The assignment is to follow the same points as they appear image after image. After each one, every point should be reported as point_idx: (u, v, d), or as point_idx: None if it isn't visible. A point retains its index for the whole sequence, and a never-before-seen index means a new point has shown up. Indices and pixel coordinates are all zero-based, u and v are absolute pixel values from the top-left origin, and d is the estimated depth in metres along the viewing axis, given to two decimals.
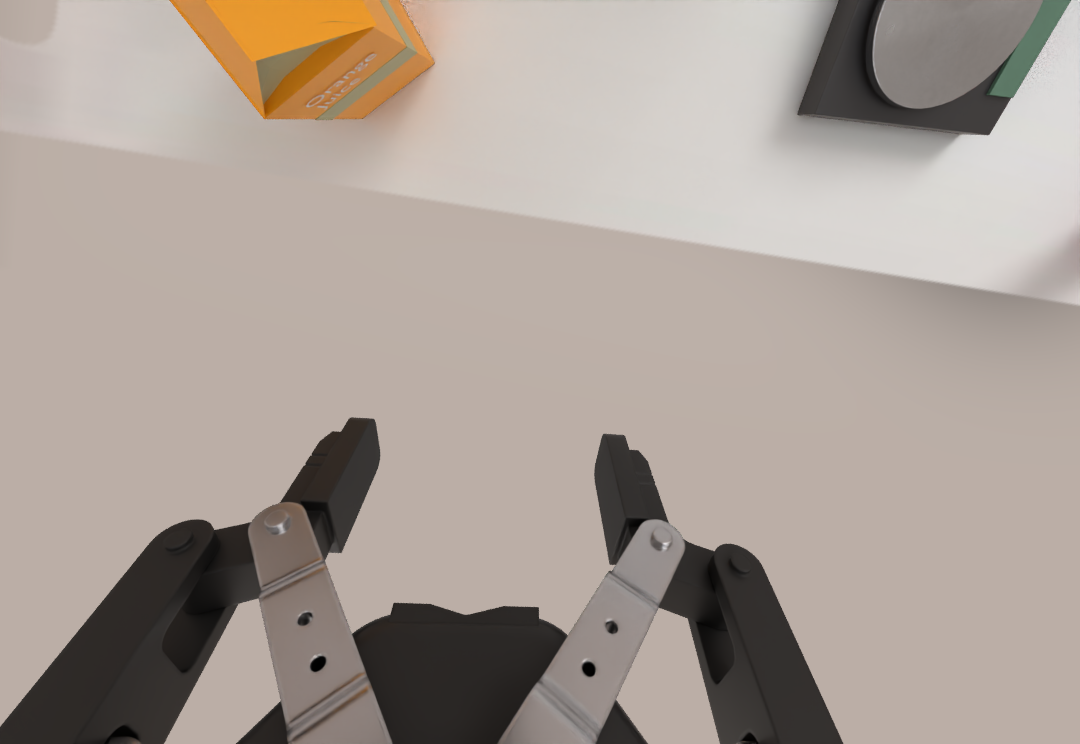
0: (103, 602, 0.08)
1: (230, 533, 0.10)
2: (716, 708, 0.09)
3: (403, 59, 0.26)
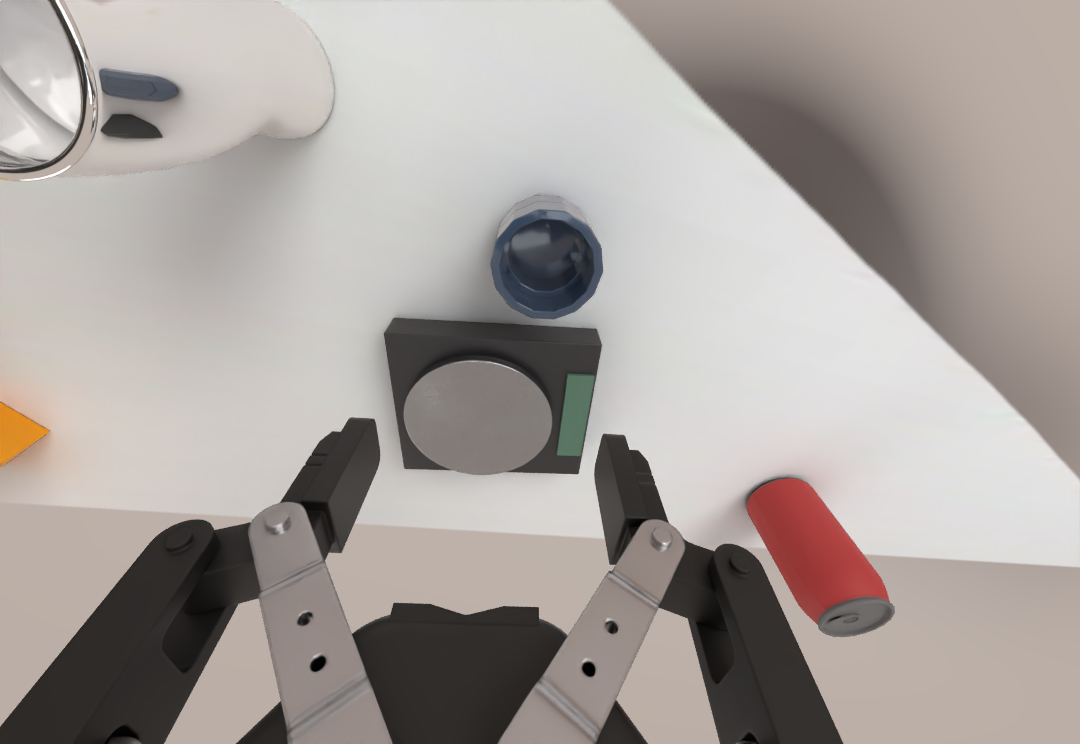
0: (103, 602, 0.08)
1: (230, 533, 0.10)
2: (716, 708, 0.09)
3: None
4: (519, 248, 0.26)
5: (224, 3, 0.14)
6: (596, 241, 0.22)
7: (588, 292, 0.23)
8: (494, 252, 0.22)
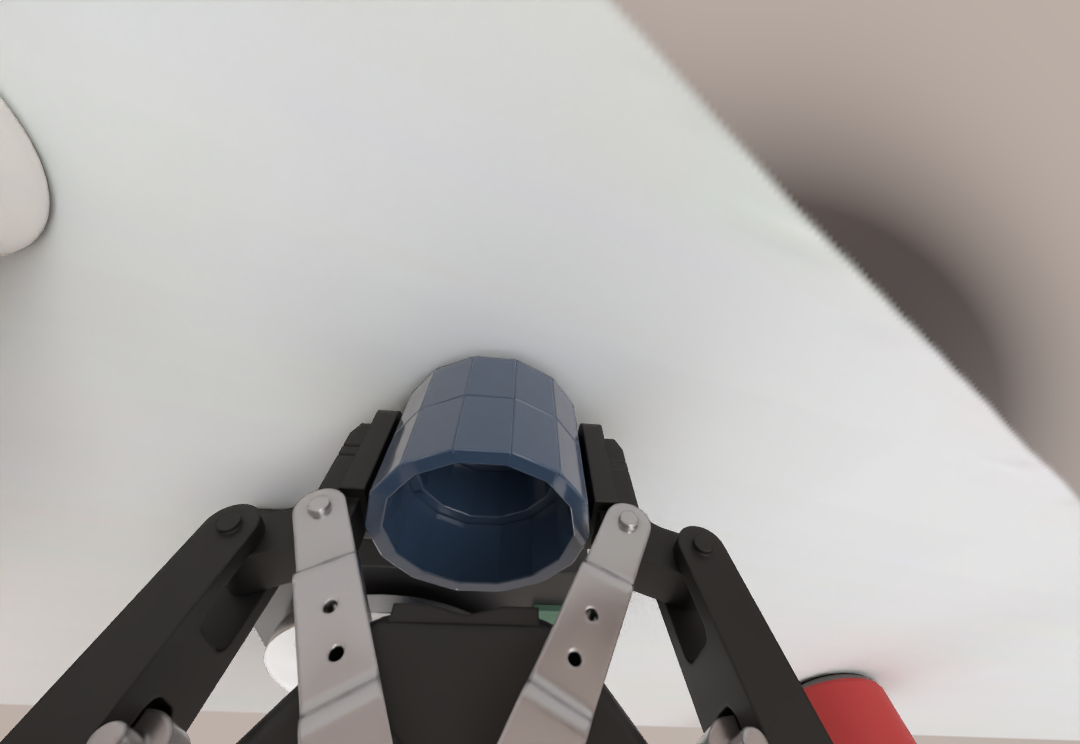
0: (157, 574, 0.08)
1: (273, 518, 0.10)
2: (693, 687, 0.09)
3: None
4: None
5: None
6: (577, 495, 0.11)
7: (562, 561, 0.12)
8: (368, 510, 0.11)
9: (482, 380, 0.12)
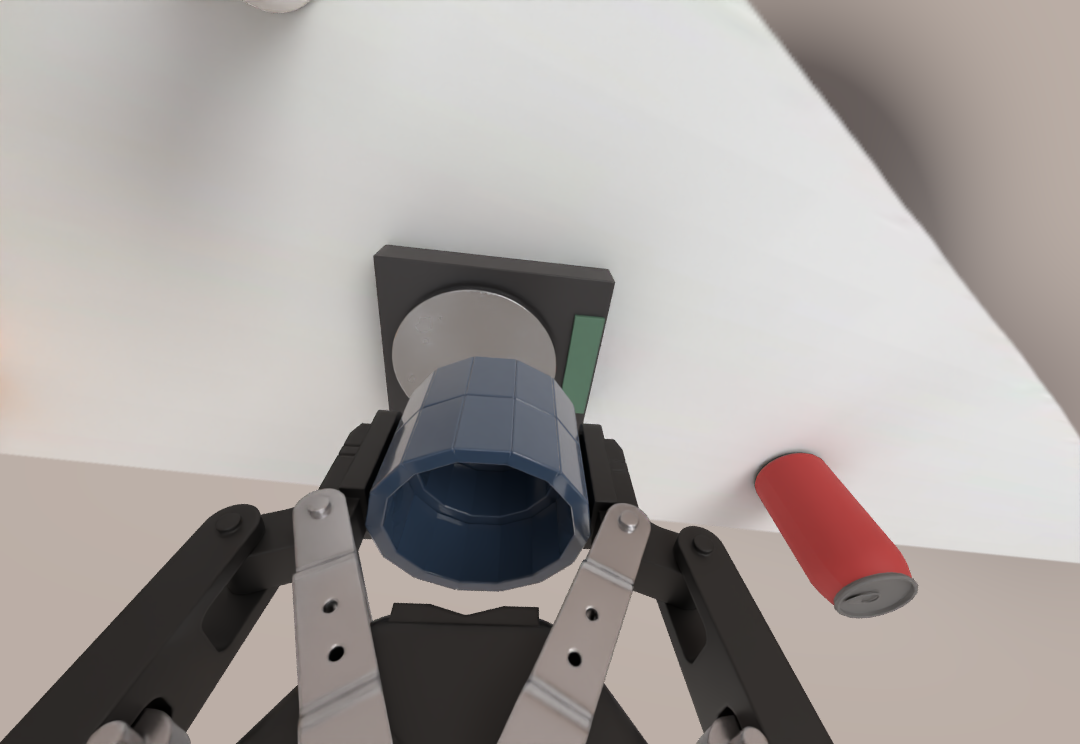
0: (157, 574, 0.08)
1: (274, 518, 0.10)
2: (693, 687, 0.09)
3: None
4: None
5: None
6: (578, 495, 0.11)
7: (563, 560, 0.12)
8: (368, 509, 0.11)
9: (482, 380, 0.12)
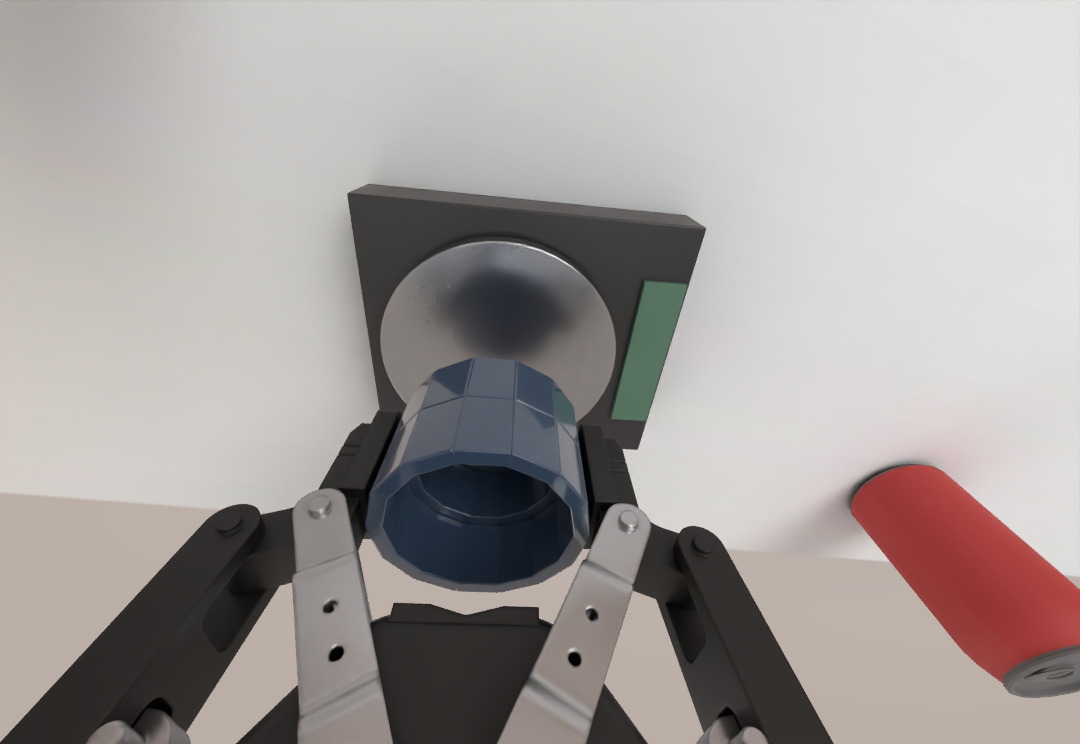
0: (157, 574, 0.08)
1: (273, 518, 0.10)
2: (693, 686, 0.09)
3: None
4: None
5: None
6: (577, 496, 0.11)
7: (562, 562, 0.12)
8: (368, 511, 0.11)
9: (482, 381, 0.12)
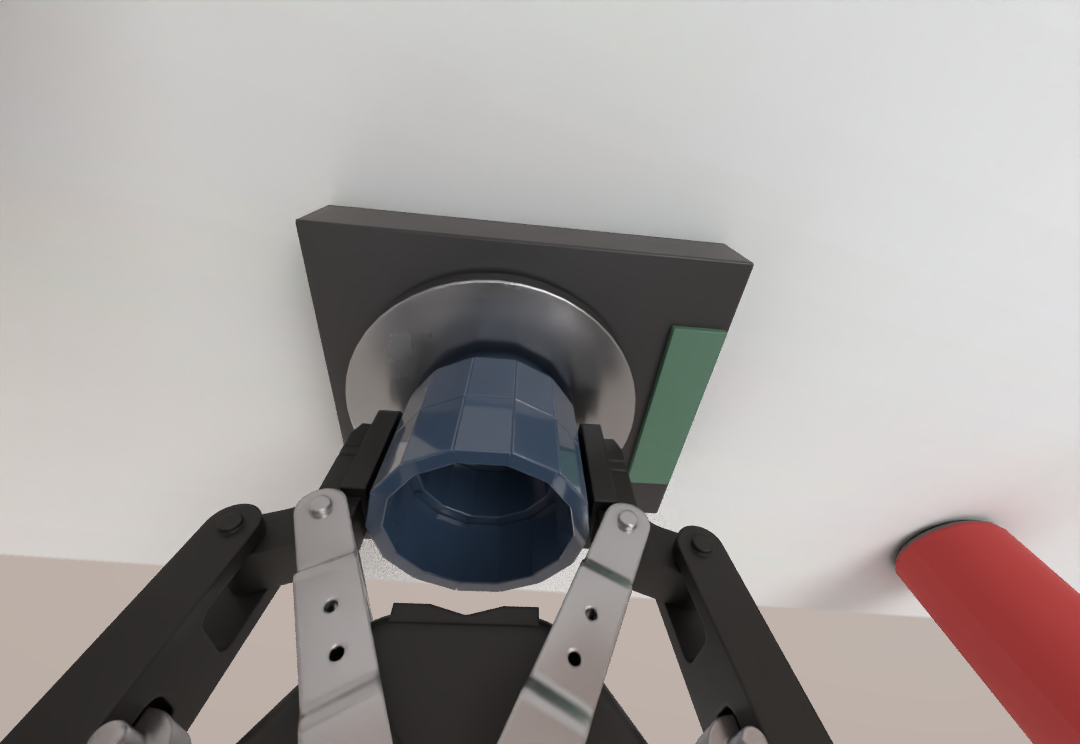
0: (158, 574, 0.08)
1: (274, 518, 0.10)
2: (692, 686, 0.09)
3: None
4: None
5: None
6: (577, 495, 0.11)
7: (562, 561, 0.12)
8: (368, 510, 0.11)
9: (482, 380, 0.12)
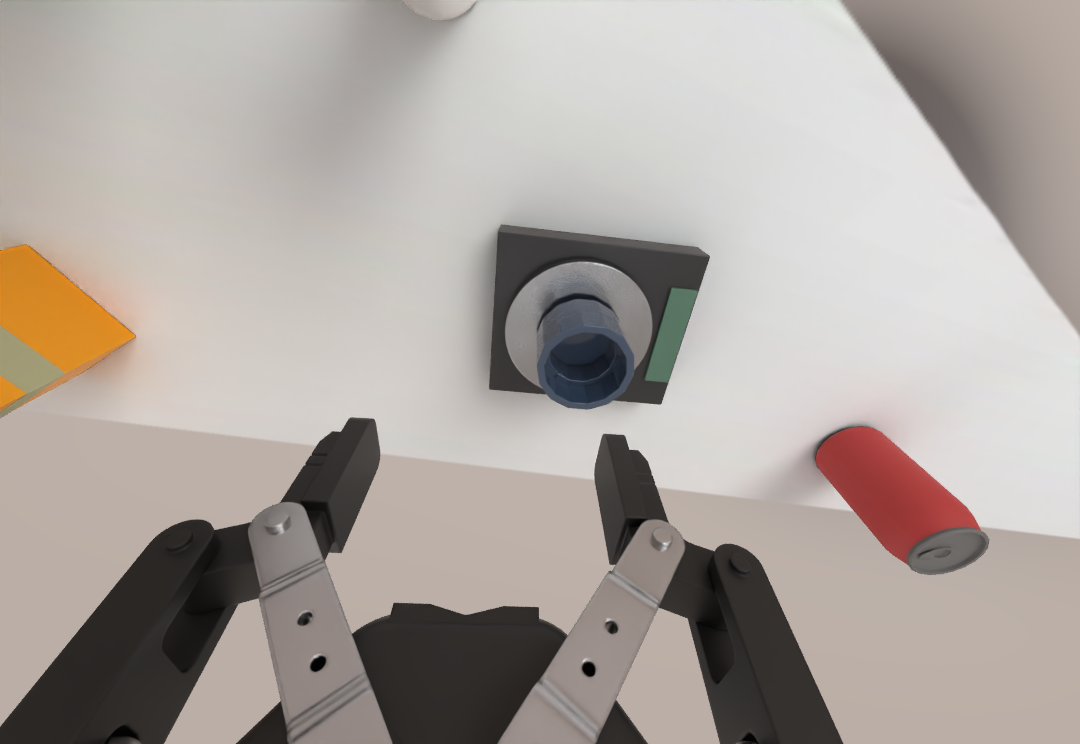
0: (103, 602, 0.08)
1: (230, 533, 0.10)
2: (716, 708, 0.09)
3: (46, 385, 0.28)
4: None
5: None
6: (630, 351, 0.25)
7: (620, 389, 0.27)
8: (541, 356, 0.25)
9: (584, 306, 0.27)
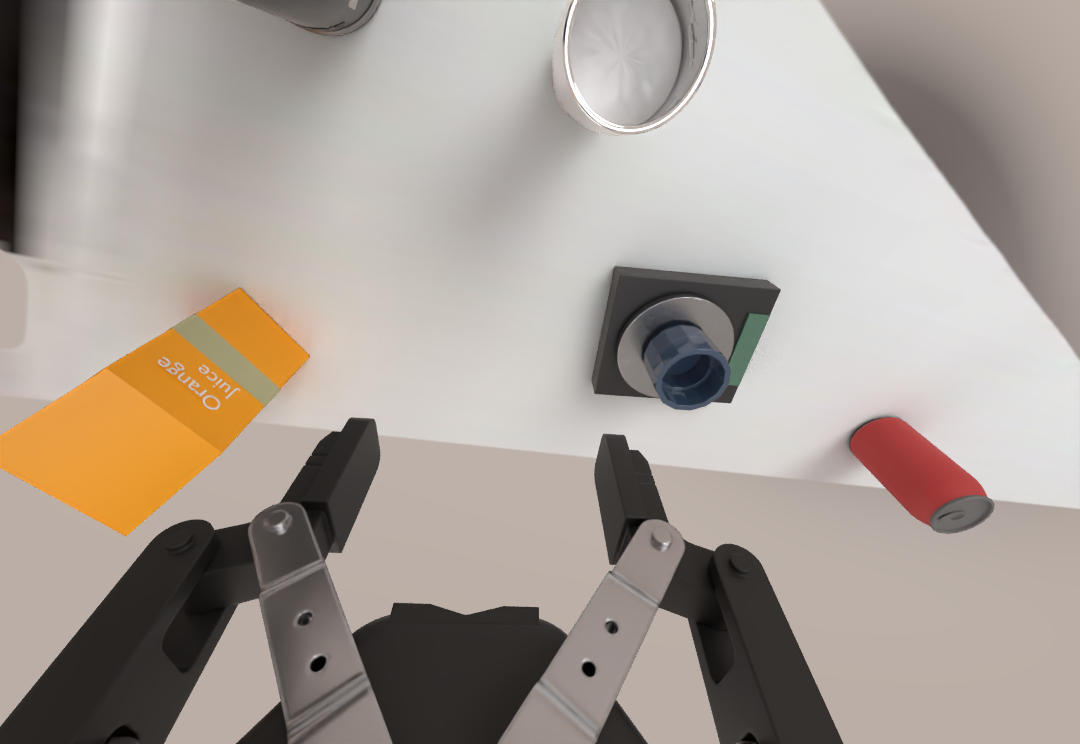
0: (103, 602, 0.08)
1: (230, 533, 0.10)
2: (716, 708, 0.09)
3: None
4: None
5: None
6: (728, 366, 0.33)
7: (716, 395, 0.35)
8: (661, 371, 0.33)
9: (689, 332, 0.35)
